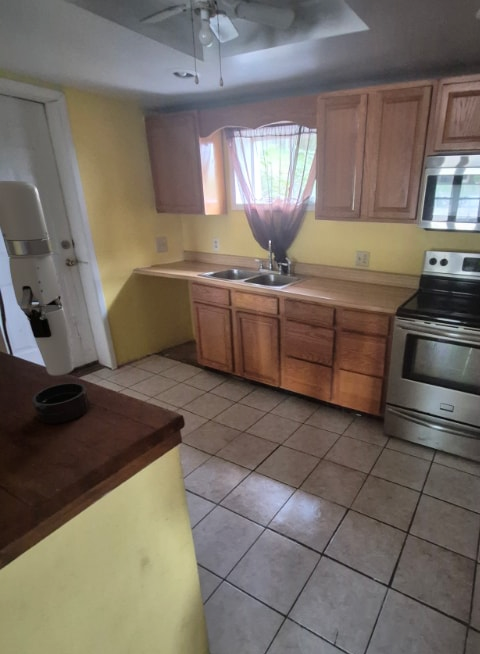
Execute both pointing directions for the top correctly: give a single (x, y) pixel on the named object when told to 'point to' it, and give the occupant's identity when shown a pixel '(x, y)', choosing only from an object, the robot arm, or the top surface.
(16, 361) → the top surface
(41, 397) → the bowl
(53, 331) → the drinking glass
